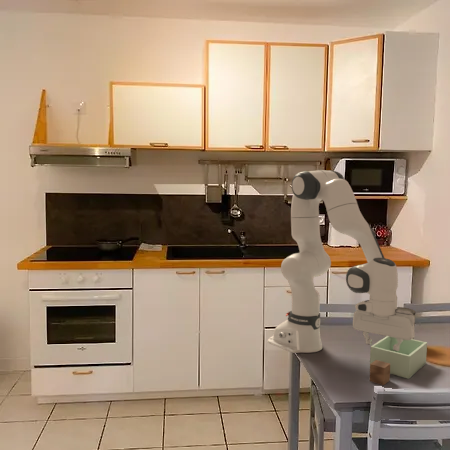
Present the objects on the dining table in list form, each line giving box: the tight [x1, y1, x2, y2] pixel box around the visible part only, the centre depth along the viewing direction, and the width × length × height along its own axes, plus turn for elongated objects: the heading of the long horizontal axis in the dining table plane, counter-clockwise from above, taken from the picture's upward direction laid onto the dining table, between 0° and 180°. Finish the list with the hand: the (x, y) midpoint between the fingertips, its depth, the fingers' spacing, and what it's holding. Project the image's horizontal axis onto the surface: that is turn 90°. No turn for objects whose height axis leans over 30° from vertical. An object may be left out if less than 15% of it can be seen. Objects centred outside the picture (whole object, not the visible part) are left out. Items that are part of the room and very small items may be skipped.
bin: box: [369, 336, 428, 380], centre depth 174 cm, size 14×18×8 cm
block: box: [368, 360, 391, 386], centre depth 161 cm, size 5×5×6 cm
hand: (382, 347), depth 160 cm, fingers open, 8 cm apart
